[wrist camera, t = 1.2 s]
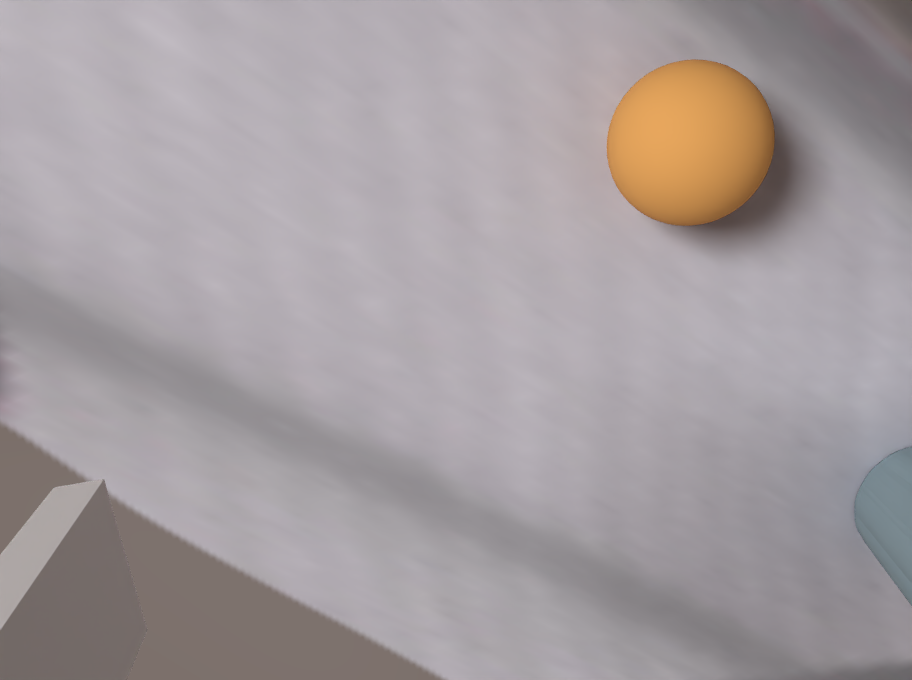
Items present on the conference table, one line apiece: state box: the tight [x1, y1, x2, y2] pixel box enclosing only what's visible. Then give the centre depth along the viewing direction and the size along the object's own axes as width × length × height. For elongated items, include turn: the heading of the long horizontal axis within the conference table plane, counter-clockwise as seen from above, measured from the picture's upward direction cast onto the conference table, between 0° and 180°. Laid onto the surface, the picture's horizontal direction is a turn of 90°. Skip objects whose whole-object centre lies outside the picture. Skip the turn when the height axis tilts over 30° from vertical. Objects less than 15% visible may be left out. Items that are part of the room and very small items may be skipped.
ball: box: [607, 60, 775, 226], centre depth 29 cm, size 6×6×6 cm
